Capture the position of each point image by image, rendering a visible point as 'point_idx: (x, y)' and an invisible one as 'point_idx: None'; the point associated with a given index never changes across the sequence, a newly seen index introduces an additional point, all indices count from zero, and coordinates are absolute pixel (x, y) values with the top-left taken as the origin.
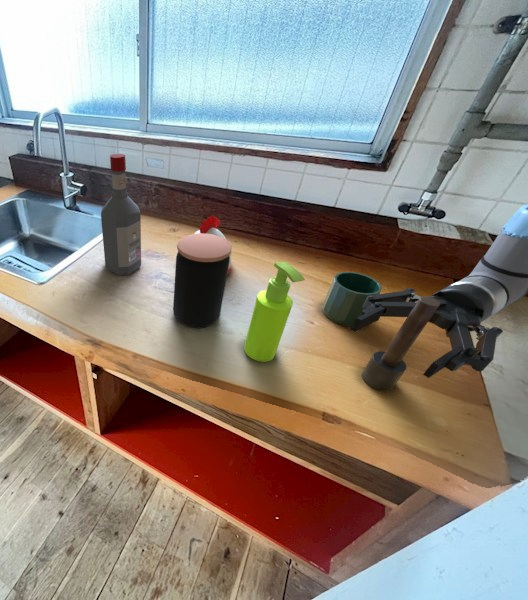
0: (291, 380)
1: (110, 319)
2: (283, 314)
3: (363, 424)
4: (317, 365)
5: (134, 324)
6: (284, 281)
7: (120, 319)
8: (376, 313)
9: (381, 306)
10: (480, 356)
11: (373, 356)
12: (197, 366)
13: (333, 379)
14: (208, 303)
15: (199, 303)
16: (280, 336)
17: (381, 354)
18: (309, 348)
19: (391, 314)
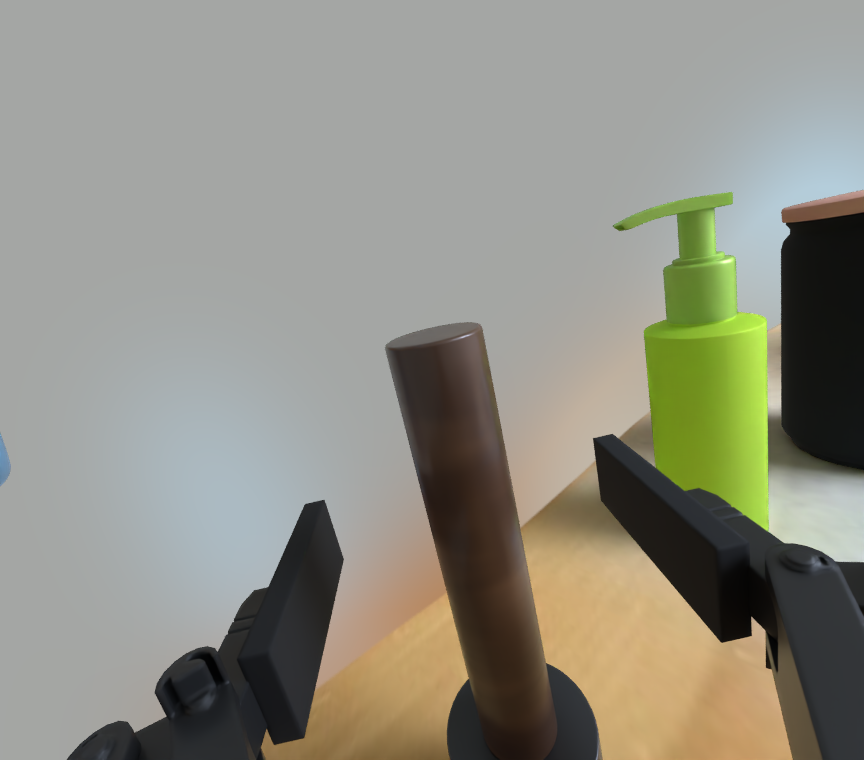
0: (585, 545)
1: (775, 365)
2: (648, 354)
3: (416, 618)
4: (648, 635)
5: (768, 382)
6: (681, 252)
7: (780, 372)
8: (658, 503)
9: (742, 542)
10: (135, 752)
11: (563, 673)
12: (640, 434)
13: (574, 645)
14: (789, 360)
15: (781, 352)
16: (667, 450)
17: (570, 725)
18: (763, 663)
19: (794, 738)
